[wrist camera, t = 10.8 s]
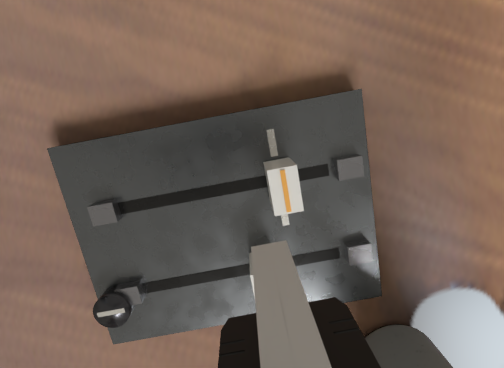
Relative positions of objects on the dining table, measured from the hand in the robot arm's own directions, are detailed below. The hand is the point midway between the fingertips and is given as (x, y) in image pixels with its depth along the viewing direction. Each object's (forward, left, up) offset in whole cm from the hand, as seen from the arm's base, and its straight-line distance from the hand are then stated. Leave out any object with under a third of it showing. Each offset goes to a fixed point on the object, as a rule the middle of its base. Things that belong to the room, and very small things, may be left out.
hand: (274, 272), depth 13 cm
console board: (+4, -4, -20) cm, 20 cm away
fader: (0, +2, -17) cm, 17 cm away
